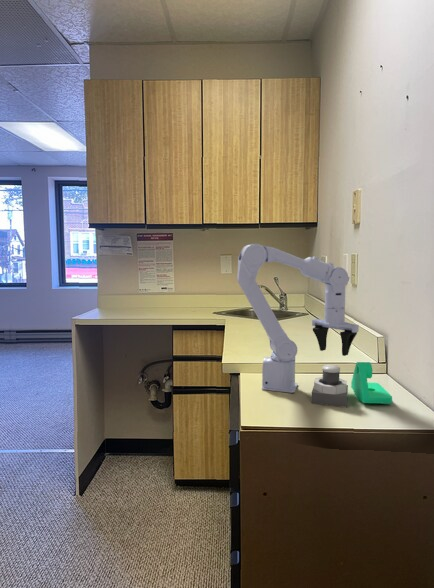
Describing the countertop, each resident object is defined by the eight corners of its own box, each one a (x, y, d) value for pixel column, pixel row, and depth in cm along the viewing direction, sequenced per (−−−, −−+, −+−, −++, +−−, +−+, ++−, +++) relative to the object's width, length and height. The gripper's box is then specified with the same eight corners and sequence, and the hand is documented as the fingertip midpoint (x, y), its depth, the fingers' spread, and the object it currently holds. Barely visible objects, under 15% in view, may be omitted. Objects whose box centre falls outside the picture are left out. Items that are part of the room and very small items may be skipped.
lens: (333, 392, 105) (333, 371, 104) (318, 388, 108) (319, 367, 107) (342, 388, 108) (343, 367, 107) (327, 384, 111) (328, 363, 110)
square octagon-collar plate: (311, 403, 105) (311, 385, 105) (314, 391, 114) (315, 375, 113) (346, 407, 102) (347, 388, 102) (347, 395, 111) (348, 378, 110)
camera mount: (393, 407, 103) (394, 369, 102) (363, 406, 103) (364, 368, 102) (377, 391, 115) (379, 356, 114) (351, 390, 115) (352, 356, 114)
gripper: (364, 308, 113) (363, 354, 114) (321, 303, 124) (321, 346, 125) (351, 311, 108) (350, 359, 110) (308, 306, 119) (307, 349, 121)
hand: (333, 352), depth 117 cm, fingers open, 7 cm apart
